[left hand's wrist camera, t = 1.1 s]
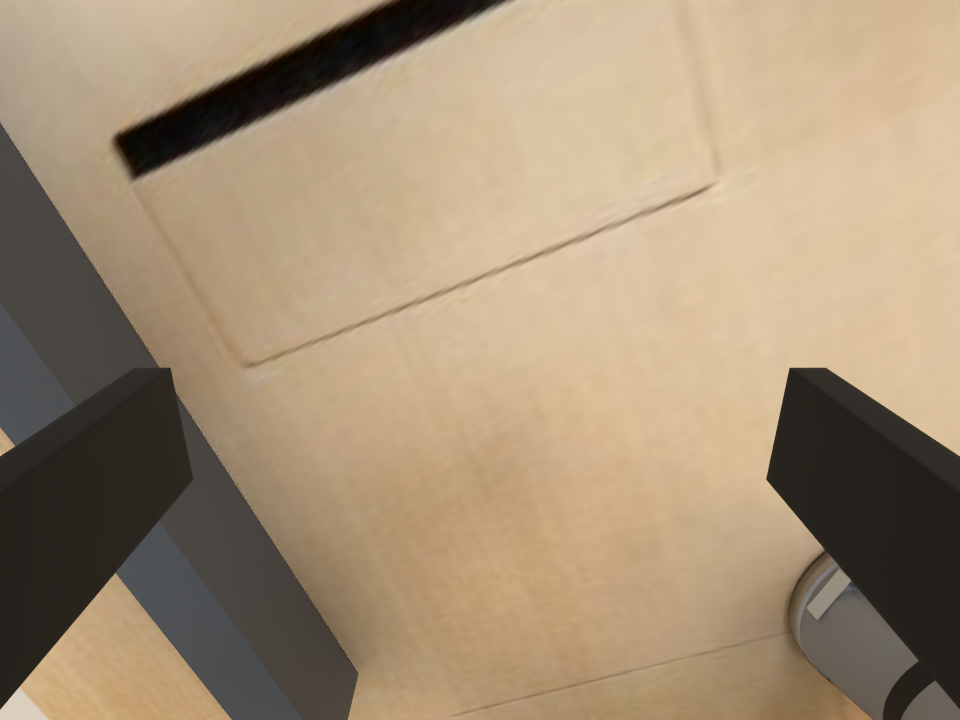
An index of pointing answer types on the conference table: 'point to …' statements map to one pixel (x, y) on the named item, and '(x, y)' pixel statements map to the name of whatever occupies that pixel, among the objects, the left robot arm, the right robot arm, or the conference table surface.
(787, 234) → the conference table surface
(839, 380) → the left robot arm
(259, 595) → the beam
